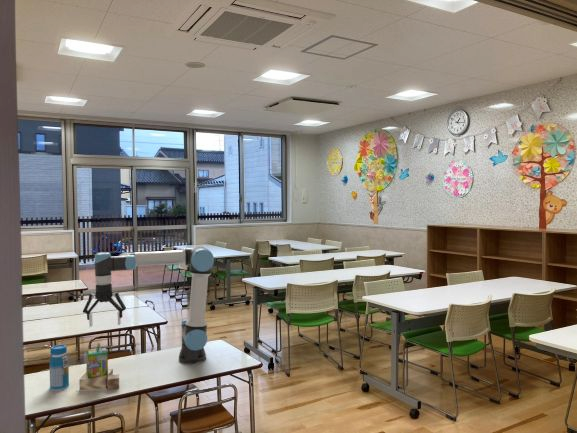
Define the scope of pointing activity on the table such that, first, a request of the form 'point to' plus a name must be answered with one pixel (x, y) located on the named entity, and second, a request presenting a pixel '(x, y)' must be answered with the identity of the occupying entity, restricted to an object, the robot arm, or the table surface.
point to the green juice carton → (97, 362)
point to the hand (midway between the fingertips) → (105, 325)
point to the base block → (94, 381)
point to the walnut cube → (113, 382)
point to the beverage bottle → (59, 368)
